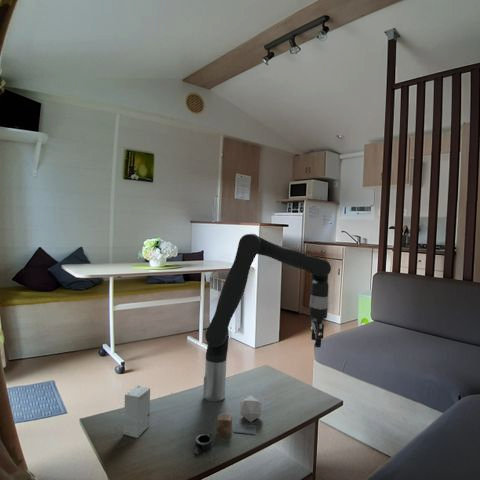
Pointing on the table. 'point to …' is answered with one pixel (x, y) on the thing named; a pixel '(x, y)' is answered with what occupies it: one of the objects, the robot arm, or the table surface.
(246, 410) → the die
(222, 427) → the brown rectangular block
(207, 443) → the black round bracket
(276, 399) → the table surface
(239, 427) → the pad
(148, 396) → the skincare box
